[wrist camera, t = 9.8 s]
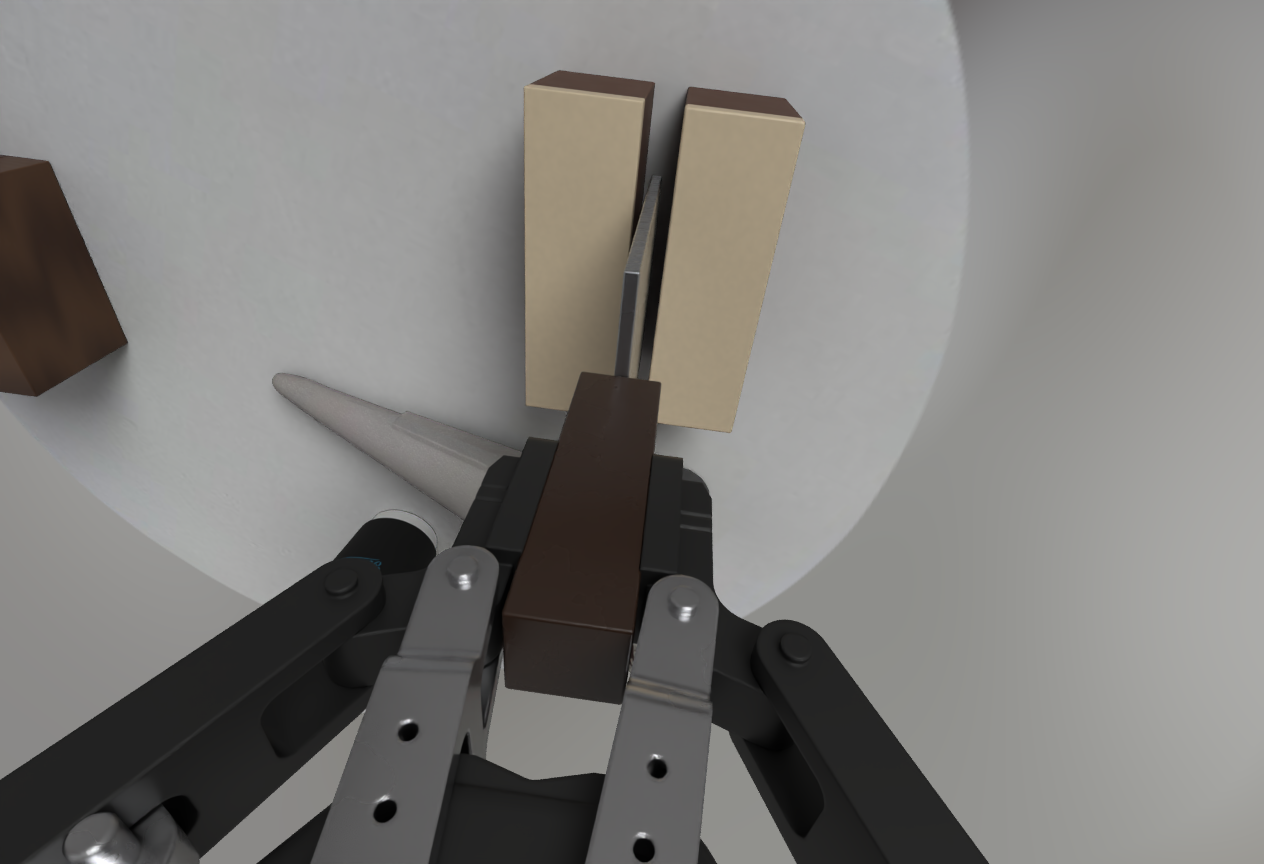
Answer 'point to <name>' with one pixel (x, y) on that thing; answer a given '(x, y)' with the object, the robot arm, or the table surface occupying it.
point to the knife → (591, 519)
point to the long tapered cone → (402, 442)
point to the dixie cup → (393, 543)
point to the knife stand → (46, 285)
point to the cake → (606, 224)
